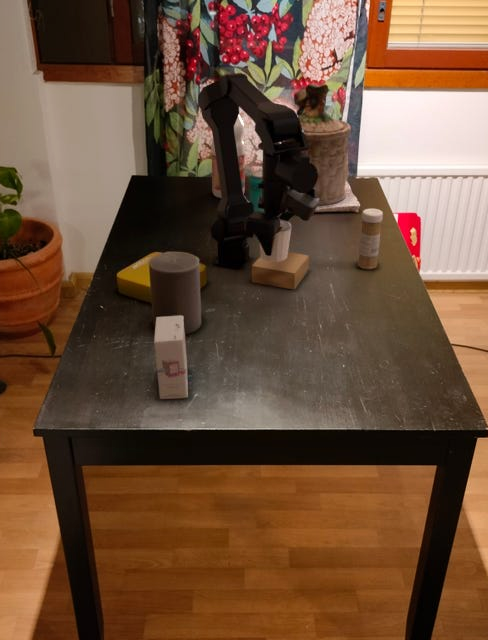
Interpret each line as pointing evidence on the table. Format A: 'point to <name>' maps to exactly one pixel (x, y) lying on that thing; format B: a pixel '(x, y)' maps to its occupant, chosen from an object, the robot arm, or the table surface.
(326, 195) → the cookie jar
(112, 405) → the table surface
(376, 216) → the sprinkles bottle
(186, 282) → the pillar candle
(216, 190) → the fruit juice
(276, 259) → the shot glass
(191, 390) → the table surface
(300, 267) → the maple block
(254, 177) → the beverage can
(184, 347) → the ink box
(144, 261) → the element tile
